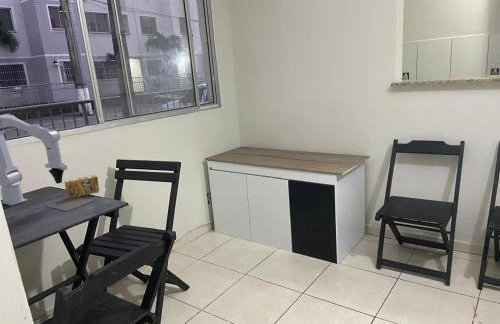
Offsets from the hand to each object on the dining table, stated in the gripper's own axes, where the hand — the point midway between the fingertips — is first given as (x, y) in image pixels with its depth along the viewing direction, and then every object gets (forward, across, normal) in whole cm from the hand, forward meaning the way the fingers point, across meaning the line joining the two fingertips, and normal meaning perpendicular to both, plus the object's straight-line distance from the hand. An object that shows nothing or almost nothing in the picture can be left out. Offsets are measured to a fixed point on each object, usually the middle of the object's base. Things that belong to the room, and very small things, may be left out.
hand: (59, 182), depth 178 cm
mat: (+10, -7, 0) cm, 12 cm away
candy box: (+5, +2, -4) cm, 7 cm away
